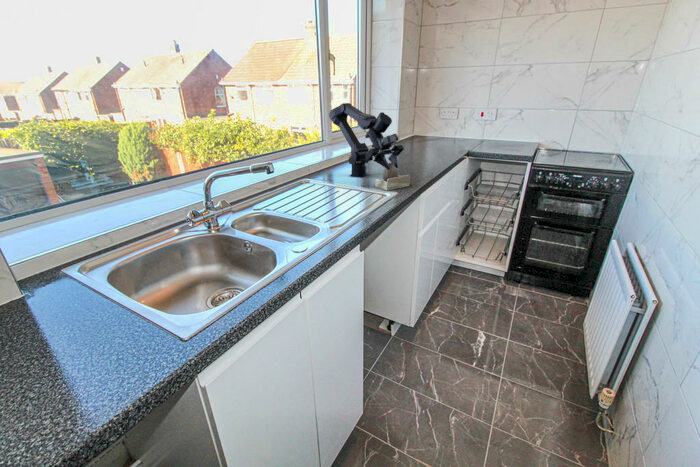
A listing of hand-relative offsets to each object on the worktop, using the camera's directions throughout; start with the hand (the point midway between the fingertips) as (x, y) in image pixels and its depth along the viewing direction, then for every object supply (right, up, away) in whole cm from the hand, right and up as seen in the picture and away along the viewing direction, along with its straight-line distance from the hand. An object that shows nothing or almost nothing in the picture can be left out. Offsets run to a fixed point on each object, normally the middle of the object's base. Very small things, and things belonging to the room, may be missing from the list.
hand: (393, 168), depth 145 cm
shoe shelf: (0, -7, +3) cm, 8 cm away
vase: (-1, -6, +4) cm, 7 cm away
